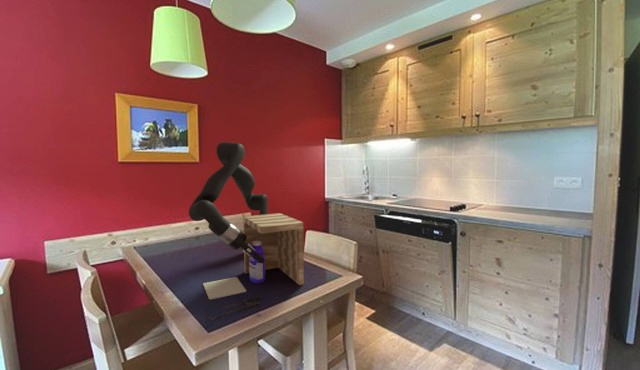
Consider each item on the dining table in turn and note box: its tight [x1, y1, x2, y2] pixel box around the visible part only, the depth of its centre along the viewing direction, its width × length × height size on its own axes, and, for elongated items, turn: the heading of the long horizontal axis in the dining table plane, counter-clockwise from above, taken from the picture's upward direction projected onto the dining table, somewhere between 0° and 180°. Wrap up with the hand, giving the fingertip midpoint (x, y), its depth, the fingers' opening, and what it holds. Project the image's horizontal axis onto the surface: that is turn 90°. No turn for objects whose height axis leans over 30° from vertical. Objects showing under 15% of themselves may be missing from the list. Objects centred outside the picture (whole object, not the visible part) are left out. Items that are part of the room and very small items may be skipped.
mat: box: [202, 276, 247, 300], centre depth 121 cm, size 16×14×1 cm
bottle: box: [248, 241, 266, 285], centre depth 127 cm, size 7×6×17 cm
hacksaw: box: [200, 295, 263, 329], centre depth 102 cm, size 24×10×2 cm, turn 124°
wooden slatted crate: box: [242, 212, 305, 286], centre depth 130 cm, size 26×18×26 cm
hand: (260, 259), depth 128 cm, fingers closed on bottle, 7 cm apart
